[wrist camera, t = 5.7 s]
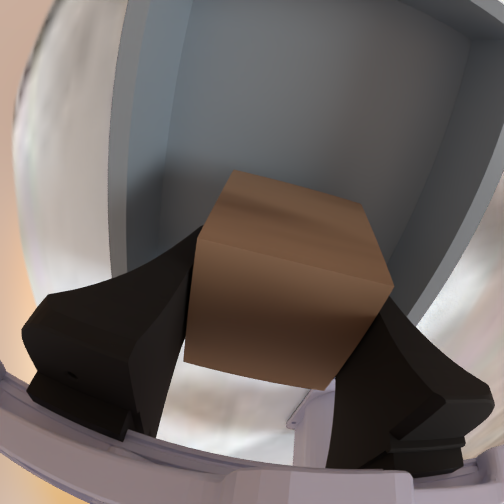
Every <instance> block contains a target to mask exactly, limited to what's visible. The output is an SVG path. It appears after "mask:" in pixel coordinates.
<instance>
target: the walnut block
mask: <svg viewBox="0 0 504 504" xmlns="http://www.w3.org/2000/svg"><path fill="white" fill-rule="evenodd" d="M393 288H394V284H393V281H392V278H391V276H390V273H389V270H388V268H387V265H386V262H385V260H384V257H383V255H382V252H381V250H380V247H379V245H378V242H377V240H376V237H375V235H374V233H373V230H372V228H371V225H370V223H369V221H368V219H367V216H366V214H365V212H364V209H363V207H362V205H361V204H360V203H357V202H354V201H350V200H347V199H344V198H340V197H337V196H334V195H330V194H327V193H323V192H320V191H316V190H312V189H309V188H305V187H302V186H298V185H294V184H290V183H287V182H283V181H279V180H275V179H271V178H267V177H263V176H259V175H255V174H251V173H247V172H242V171H238V170H233V171H232V173H231V175H230V177H229V179H228V181H227V182H226V184H225V186H224V188H223V190H222V192H221V194H220V195H219V197H218V199H217V201H216V203H215V205H214V207H213V209H212V210H211V212H210V214H209V216H208V218H207V220H206V222H205V224H204V226H203V228H202V230H201V232H200V234H199V236H198V237H197V244H196V251H195V259H194V267H193V275H192V283H191V291H190V300H189V309H188V318H187V328H186V338H185V349H184V360H183V362H187V363H190V364H194V365H198V366H202V367H206V368H210V369H214V370H218V371H222V372H226V373H230V374H235V375H239V376H244V377H248V378H253V379H258V380H263V381H268V382H273V383H278V384H284V385H289V386H295V387H301V388H307V389H314V390H321V391H325V389H326V388H327V387H328V385H329V384H330V383H331V381H332V380H333V379H334V377H335V376H336V375H337V373H338V372H339V370H340V369H341V368H342V366H343V365H344V364H345V362H346V361H347V359H348V358H349V357H350V355H351V354H352V352H353V351H354V349H355V348H356V346H357V345H358V343H359V342H360V341H361V339H362V338H363V336H364V335H365V333H366V332H367V330H368V328H369V327H370V325H371V324H372V322H373V321H374V319H375V318H376V316H377V314H378V313H379V311H380V310H381V308H382V306H383V305H384V303H385V302H386V300H387V298H388V297H389V295H390V293H391V292H392V290H393Z"/></svg>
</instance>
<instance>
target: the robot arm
mask: <svg viewBox="0 0 504 504" xmlns="http://www.w3.org/2000/svg"><path fill="white" fill-rule="evenodd" d="M203 226H204V225H202V226H200V227H199V228H197V229H196V230H195V231H193V232H192V233H191V234H190V235H188V236H187V237H186V238H184V239H183V240H182V241H180V242H179V243H177V244H176V245H175V246H173V247H172V248H170V249H169V250H167V251H166V252H164V253H163V254H161V255H159V256H158V257H156V258H155V259H153V260H151V261H149V262H148V263H146V264H144V265H142V266H140V267H138V268H136V269H134V270H132V271H129V272H127V273H124V274H122V275H119V276H117V277H114V278H112V279H109V280H106V281H103V282H100V283H97V284H94V285H90V286H87V287H83V288H79V289H75V290H70V291H64V292H59V293H54V294H48V295H47V296H46V297H45V299H44V300H43V301H42V302H41V303H40V304H39V306H38V307H37V308H36V310H35V311H34V312H33V314H32V315H31V316H30V318H29V319H28V321H27V322H26V323H25V325H24V326H23V328H22V340H23V342H24V345H25V348H26V349H27V352H28V354H29V356H30V358H31V360H32V361H33V363H34V365H35V367H36V369H37V373H36V374H35V376H34V378H33V379H32V381H31V383H30V385H29V384H27V383H25V382H23V381H22V380H20V379H18V378H17V377H15V376H13V375H11V374H10V373H8V372H6V369H5V367H4V365H3V364H2V362H1V361H0V453H2V454H3V455H5V456H6V457H8V458H9V459H10V460H12V461H13V462H15V463H16V464H18V465H20V466H21V467H23V468H24V469H26V470H27V471H29V472H31V473H32V474H34V475H36V476H38V477H39V478H41V479H43V480H44V481H46V482H48V483H50V484H52V485H53V486H55V487H57V488H59V489H61V490H63V491H65V492H67V493H69V494H71V495H73V496H75V497H77V498H79V499H81V500H83V501H85V502H88V503H90V504H504V445H501V446H496V447H493V448H490V449H488V450H486V451H485V452H483V453H481V454H480V455H479V456H477V458H473V459H467V460H463V458H462V452H461V447H463V446H465V444H466V442H465V438H464V436H465V435H466V434H468V433H469V432H470V431H472V430H473V429H474V428H476V427H477V426H478V425H480V424H481V423H482V422H483V421H484V420H486V419H487V418H488V417H489V415H490V414H491V413H492V411H493V409H494V406H495V404H494V400H493V397H492V394H491V391H490V388H489V386H488V385H487V384H486V383H484V382H483V381H481V380H480V379H478V378H476V377H475V376H473V375H472V374H470V373H468V372H467V371H466V370H464V369H463V368H461V367H460V366H459V365H457V364H456V363H455V362H453V361H452V360H451V359H450V358H448V357H447V356H446V355H445V354H444V353H442V352H441V351H440V350H439V349H438V348H437V347H436V346H434V345H433V344H432V343H431V342H430V341H429V340H428V339H427V338H426V337H425V336H424V335H423V334H422V333H421V332H420V331H419V330H418V329H417V328H416V327H415V326H414V325H413V324H412V322H411V321H410V320H409V319H408V318H407V317H406V315H405V314H404V313H403V312H402V311H401V310H400V308H399V307H398V306H397V305H396V303H395V302H394V301H393V300H392V298H391V297H390V296H389V297H388V298H387V300H386V302H385V303H384V305H383V306H382V308H381V310H380V311H379V313H378V314H377V316H376V318H375V319H374V321H373V322H372V324H371V325H370V327H369V328H368V330H367V332H366V333H365V335H364V336H363V338H362V339H361V341H360V342H359V343H358V345H357V346H356V348H355V349H354V351H353V352H352V354H351V355H350V357H349V358H348V359H347V361H346V362H345V364H344V365H343V366H342V368H341V369H340V370H339V372H338V373H337V375H336V376H335V379H333V380H332V381H331V383H330V384H329V385H328V387H327V388H326V389H325V391H321V390H314V389H311V391H310V392H309V393H308V395H307V396H306V397H305V399H304V400H303V402H302V403H301V404H300V406H299V407H298V408H297V410H296V411H295V412H294V414H293V415H292V416H291V418H290V419H289V420H288V421H287V423H286V427H287V428H289V429H295V436H294V453H293V466H289V465H280V464H272V463H264V462H257V461H251V460H245V459H239V458H234V457H228V456H223V455H219V454H214V453H209V452H205V451H201V450H196V449H192V448H188V447H185V446H181V445H177V444H174V443H170V442H166V441H163V440H160V439H156V435H157V431H158V427H159V423H160V419H161V415H162V412H163V408H164V404H165V400H166V397H167V393H168V390H169V386H170V383H171V379H172V376H173V372H174V369H175V366H176V362H177V359H178V356H179V353H180V350H181V347H182V344H183V342H184V339H185V337H186V328H187V318H188V309H189V300H190V291H191V283H192V275H193V267H194V259H195V251H196V244H197V237H198V236H199V234H200V232H201V230H202V228H203Z"/></svg>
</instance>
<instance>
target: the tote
mask: <svg viewBox="0 0 504 504" xmlns="http://www.w3.org/2000/svg"><path fill="white" fill-rule="evenodd" d="M233 170H238V171H242V172H247V173H251V174H255V175H259V176H263V177H267V178H271V179H275V180H279V181H283V182H287V183H290V184H294V185H298V186H302V187H305V188H309V189H312V190H316V191H320V192H323V193H327V194H330V195H334V196H337V197H340V198H344V199H347V200H350V201H354V202H357V203H360V204H361V205H362V207H363V209H364V212H365V214H366V216H367V219H368V221H369V223H370V225H371V228H372V230H373V233H374V235H375V237H376V240H377V242H378V245H379V247H380V250H381V252H382V255H383V257H384V260H385V262H386V265H387V268H388V270H389V273H390V276H391V278H392V281H393V284H394V288H393V290H392V292H391V293H390V295H389V296H390V297H391V298H392V300H393V301H394V302H395V303H396V305H397V306H398V307H399V308H400V310H401V311H402V312H403V313H404V314H405V315H406V317H407V318H408V319H409V320H410V321H411V322H412V324H413V325H414V326H415V327H416V325H417V324H418V323H419V321H420V320H421V318H422V317H423V316H424V314H425V313H426V311H427V310H428V308H429V307H430V306H431V304H432V303H433V301H434V300H435V298H436V297H437V295H438V294H439V292H440V291H441V289H442V287H443V286H444V284H445V283H446V281H447V280H448V278H449V276H450V275H451V273H452V271H453V270H454V268H455V266H456V265H457V263H458V261H459V260H460V258H461V256H462V254H463V253H464V251H465V249H466V247H467V246H468V244H469V242H470V240H471V238H472V236H473V235H474V233H475V231H476V229H477V227H478V225H479V223H480V221H481V219H482V217H483V215H484V213H485V211H486V209H487V207H488V205H489V203H490V200H491V198H492V196H493V194H494V192H495V189H496V187H497V185H498V183H499V180H500V178H501V176H502V173H503V171H504V5H503V4H502V3H501V2H499V1H498V0H128V4H127V9H126V14H125V18H124V23H123V28H122V34H121V39H120V45H119V51H118V58H117V65H116V72H115V80H114V88H113V97H112V108H111V120H110V135H109V156H108V224H109V245H110V261H111V273H112V278H114V277H117V276H119V275H122V274H124V273H127V272H129V271H132V270H134V269H136V268H138V267H140V266H142V265H144V264H146V263H148V262H149V261H151V260H153V259H155V258H156V257H158V256H159V255H161V254H163V253H164V252H166V251H167V250H169V249H170V248H172V247H173V246H175V245H176V244H177V243H179V242H180V241H182V240H183V239H184V238H186V237H187V236H188V235H190V234H191V233H192V232H193V231H195V230H196V229H197V228H199V227H200V226H202V225H204V224H205V222H206V220H207V218H208V216H209V214H210V212H211V210H212V209H213V207H214V205H215V203H216V201H217V199H218V197H219V195H220V194H221V192H222V190H223V188H224V186H225V184H226V182H227V181H228V179H229V177H230V175H231V173H232V171H233ZM185 338H186V337H185Z"/></svg>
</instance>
